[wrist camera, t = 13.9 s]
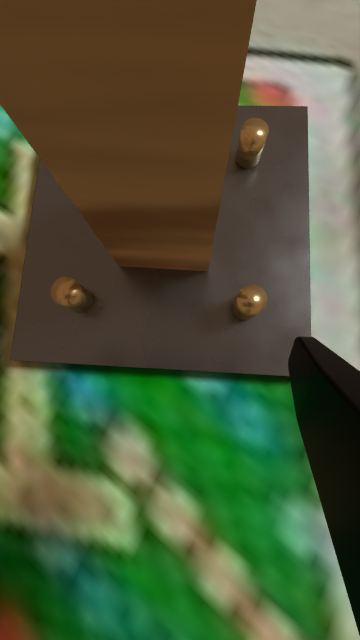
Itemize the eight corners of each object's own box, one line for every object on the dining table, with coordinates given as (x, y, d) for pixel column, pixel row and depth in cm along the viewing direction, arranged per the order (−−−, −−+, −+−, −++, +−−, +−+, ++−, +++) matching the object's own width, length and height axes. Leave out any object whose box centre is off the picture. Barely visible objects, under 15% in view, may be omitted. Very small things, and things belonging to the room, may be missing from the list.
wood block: (208, 271, 16) (284, -157, 3) (119, 266, 16) (-183, -147, 3) (213, 188, 16) (290, -446, 4) (128, 185, 17) (-85, -417, 4)
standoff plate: (303, 376, 16) (330, 379, 13) (21, 360, 16) (-17, 359, 13) (301, 120, 18) (322, 72, 15) (55, 117, 19) (29, 70, 16)
